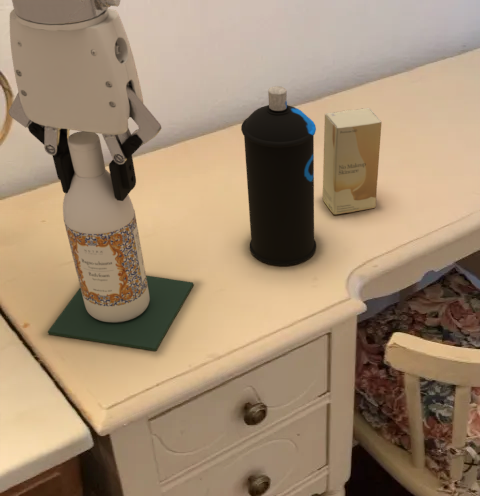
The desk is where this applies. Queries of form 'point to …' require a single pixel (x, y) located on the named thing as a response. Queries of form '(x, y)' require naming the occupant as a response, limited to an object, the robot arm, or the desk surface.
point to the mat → (132, 331)
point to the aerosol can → (280, 181)
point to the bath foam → (103, 237)
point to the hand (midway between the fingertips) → (99, 188)
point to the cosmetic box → (351, 160)
